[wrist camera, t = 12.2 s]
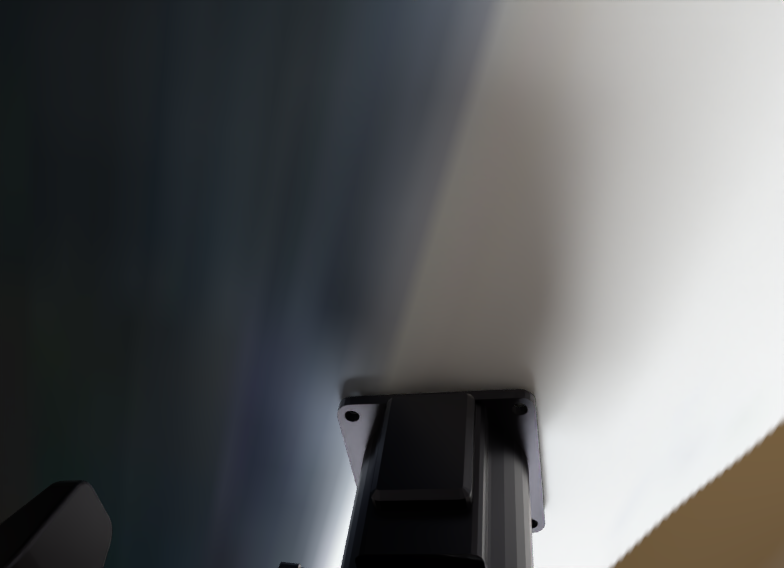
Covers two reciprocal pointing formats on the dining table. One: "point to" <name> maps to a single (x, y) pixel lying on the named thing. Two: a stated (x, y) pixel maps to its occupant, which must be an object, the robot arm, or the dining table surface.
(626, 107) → the dining table surface
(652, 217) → the dining table surface
